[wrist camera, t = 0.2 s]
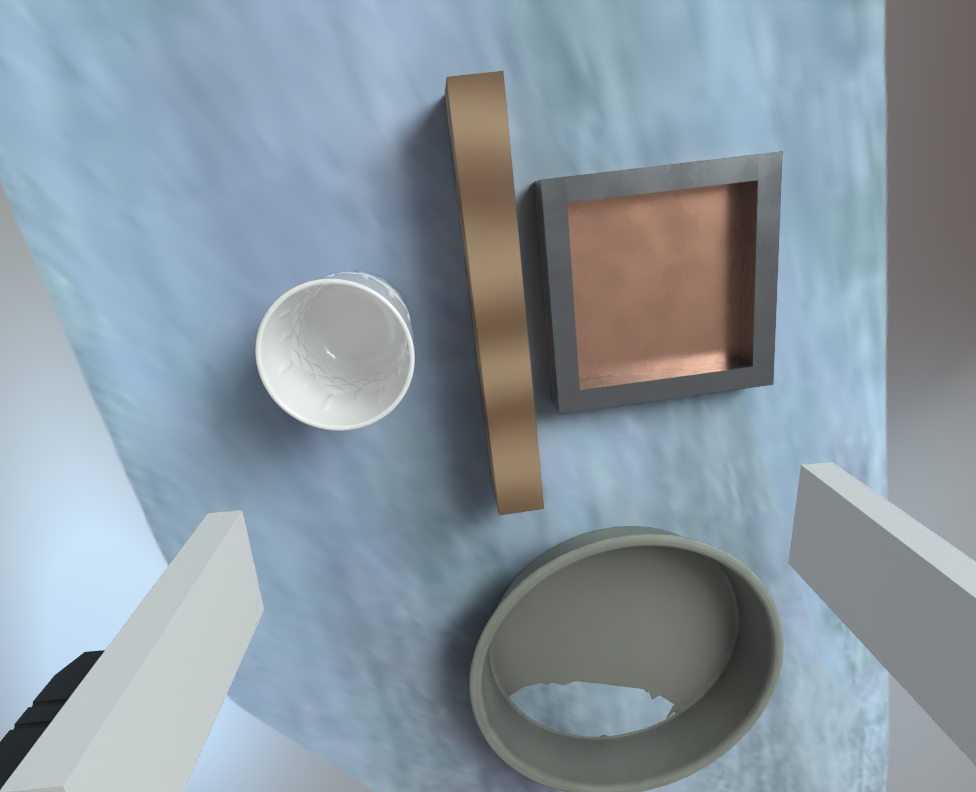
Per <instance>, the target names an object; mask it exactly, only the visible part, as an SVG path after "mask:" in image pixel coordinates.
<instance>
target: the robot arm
mask: <svg viewBox="0 0 976 792" xmlns="http://www.w3.org/2000/svg"><path fill="white" fill-rule="evenodd" d="M788 563H789V564H790V566H791V567H792V568H793V569H794V570H795V571H796V572H797V573H798V574H799V575H800V576H801V577H802V579H803V580H804V581H805V582H806V583H807V584H808V585H809V586H810V587H811V588H812V589H813V590H814V592H815V593H816V594H817V595H818V596H819V597H820V598H821V599H822V600H823V601H824V602H825V603H826V604H827V606H828V607H829V608H830V609H831V610H832V611H833V612H834V613H835V614H836V615H837V616H838V617H839V619H840V620H841V621H842V622H843V623H844V624H845V625H846V626H847V627H848V628H849V629H850V630H851V632H852V633H853V634H854V635H855V636H856V637H857V638H858V639H859V640H860V641H861V642H862V643H863V644H864V646H865V647H866V648H867V649H868V650H869V651H870V652H871V653H872V654H873V655H874V656H875V657H876V659H877V660H878V661H879V662H880V663H881V664H882V665H883V666H884V667H885V668H886V669H887V670H888V672H889V673H890V674H891V675H892V676H893V677H894V678H895V679H896V680H897V681H898V682H899V683H900V685H901V686H902V687H903V688H904V689H905V690H906V691H907V692H908V693H909V694H910V695H911V696H912V697H913V698H914V700H915V701H916V702H917V703H918V704H919V705H920V706H921V707H922V708H923V709H924V710H925V712H927V714H928V715H929V716H930V717H931V718H932V719H933V720H934V721H935V722H936V723H937V724H938V726H939V727H940V728H941V729H942V730H943V731H944V732H945V733H946V734H947V735H948V736H949V737H950V739H952V741H953V742H954V743H955V744H956V745H957V746H958V747H959V748H960V749H961V750H962V752H964V754H965V755H966V756H967V757H968V758H969V759H970V760H971V761H972V762H973V763H974V765H975V766H976V562H975V561H974V560H972V559H971V558H969V557H968V556H966V555H965V554H963V553H962V552H961V551H959V550H958V549H956V548H955V547H954V546H952V545H951V544H949V543H948V542H946V541H945V540H943V539H942V538H940V537H939V536H938V535H936V534H935V533H933V532H932V531H931V530H929V529H928V528H926V527H925V526H923V525H922V524H920V523H919V522H917V521H916V520H915V519H913V518H912V517H910V516H909V515H908V514H906V513H905V512H903V511H902V510H900V509H899V508H897V507H896V506H894V505H893V504H891V503H890V502H889V501H887V500H886V499H885V498H883V497H882V496H880V495H879V494H877V493H876V492H874V491H873V490H872V489H870V488H869V487H867V486H866V485H864V484H863V483H862V482H860V481H859V480H857V479H856V478H854V477H853V476H851V475H850V474H849V473H847V472H846V471H844V470H843V469H841V468H840V467H838V466H837V465H836V464H834V463H833V462H830V463H818V464H805V465H801V470H800V478H799V486H798V493H797V501H796V509H795V516H794V524H793V532H792V539H791V547H790V555H789V562H788ZM263 611H264V607H263V603H262V598H261V594H260V589H259V584H258V580H257V575H256V571H255V566H254V562H253V557H252V552H251V548H250V543H249V539H248V534H247V530H246V525H245V520H244V516H243V511H242V510H240V511H227V512H215V513H208V514H207V515H206V517H205V518H204V519H203V521H202V522H201V523H200V525H199V526H198V527H197V529H196V530H195V531H194V533H193V534H192V535H191V537H190V538H189V539H188V541H187V542H186V543H185V545H184V546H183V547H182V549H181V550H180V551H179V553H178V554H177V555H176V557H175V558H174V559H173V561H172V562H171V563H170V565H169V566H168V567H167V569H166V570H165V571H164V573H163V574H162V575H161V577H160V578H159V579H158V581H157V582H156V583H155V585H154V586H153V587H152V589H151V590H150V591H149V593H148V594H147V595H146V597H145V598H144V599H143V601H142V602H141V603H140V605H139V606H138V607H137V609H136V610H135V611H134V613H133V614H132V615H131V617H130V618H129V619H128V621H127V622H126V623H125V625H124V626H123V627H122V629H121V630H120V631H119V633H118V634H117V635H116V637H115V638H114V639H113V641H112V642H111V643H110V645H109V646H108V647H107V648H106V650H103V651H91V652H84V653H83V654H82V655H80V656H79V657H78V658H77V659H75V660H74V661H73V662H71V663H70V664H69V665H67V666H66V667H65V668H64V669H62V670H61V671H60V672H58V673H57V674H56V675H55V676H54V677H53V678H52V679H51V681H50V682H49V683H48V684H47V685H46V686H45V688H44V689H43V690H42V692H41V693H40V694H39V695H38V696H37V697H36V699H35V700H34V701H33V706H32V707H28V708H27V710H26V711H25V712H24V713H23V715H22V716H21V717H20V718H19V719H18V721H17V722H16V723H15V728H14V729H13V730H10V731H9V732H8V733H7V734H6V735H5V737H4V738H3V739H2V740H1V742H0V792H184V790H185V788H186V785H187V783H188V781H189V778H190V776H191V774H192V772H193V770H194V767H195V765H196V762H197V760H198V758H199V756H200V754H201V751H202V749H203V747H204V744H205V742H206V740H207V738H208V736H209V733H210V731H211V729H212V726H213V724H214V722H215V720H216V717H217V715H218V713H219V711H220V708H221V706H222V704H223V701H224V699H225V697H226V695H227V693H228V690H229V688H230V686H231V683H232V681H233V679H234V677H235V674H236V672H237V670H238V668H239V665H240V663H241V661H242V659H243V656H244V654H245V652H246V650H247V647H248V645H249V643H250V640H251V638H252V636H253V634H254V631H255V629H256V627H257V625H258V622H259V620H260V618H261V616H262V613H263Z"/></svg>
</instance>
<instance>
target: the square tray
mask: <svg viewBox="0 0 976 792" xmlns="http://www.w3.org/2000/svg"><path fill="white" fill-rule="evenodd" d="M782 152H783V151H782ZM782 152H773V153H765V154H756V155H748V156H739V157H731V158H722V159H714V160H705V161H696V162H688V163H679V164H671V165H662V166H654V167H645V168H637V169H628V170H620V171H611V172H602V173H594V174H585V175H577V176H568V177H560V178H551V179H543V180H538V181H534V184H535V196H536V208H537V220H538V232H539V244H540V256H541V268H542V280H543V293H544V305H545V317H546V329H547V341H548V353H549V365H550V377H551V389H552V401H553V404H554V406H555V408H556V409H557V411H558V412H559V414H564V413H571V412H578V411H585V410H593V409H600V408H607V407H614V406H622V405H629V404H636V403H643V402H651V401H658V400H665V399H672V398H680V397H687V396H694V395H701V394H709V393H716V392H723V391H730V390H738V389H745V388H752V387H759V386H767V385H773V378H774V353H775V328H776V303H777V278H778V253H779V228H780V203H781V178H782Z"/></svg>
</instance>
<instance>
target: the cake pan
mask: <svg viewBox="0 0 976 792" xmlns="http://www.w3.org/2000/svg"><path fill="white" fill-rule="evenodd" d="M782 659H783V632H782V626H781V621H780V617H779V614H778V611H777V608H776V605H775V603H774V601H773V599H772V597H771V596H770V594H769V592H768V590H767V589H766V588H765V586H764V585H763V583H762V582H761V581H760V580H759V579H758V577H757V576H756V575H755V574H754V573H753V572H752V571H751V570H750V569H748V568H747V567H746V566H745V565H744V564H743V563H741V562H740V561H739V560H737V559H736V558H734V557H733V556H730V555H729V554H728V553H726V552H724V551H722V550H720V549H718V548H716V547H713V546H711V545H709V544H706V543H703V542H700V541H697V540H693V539H689V538H685V537H682V536H680V535H677V534H674V533H671V532H668V531H664V530H660V529H656V528H650V527H639V526H623V527H612V528H605V529H600V530H596V531H592V532H588V533H584V534H581V535H579V536H576V537H574V538H571V539H569V540H566V541H564V542H562V543H560V544H558V545H556V546H554V547H553V548H551V549H549V550H548V551H546V552H545V553H543V554H542V555H540V556H539V557H538V558H536V559H535V560H534V561H533V562H531V563H530V564H529V565H528V566H527V567H526V568H525V569H524V570H523V571H522V572H521V573H520V574H519V575H518V576H517V577H516V578H515V580H514V581H513V582H512V583H511V584H510V586H509V587H508V589H507V590H506V592H505V593H504V595H503V597H502V598H501V600H500V602H499V604H498V606H497V608H496V610H495V612H494V613H493V615H492V616H491V618H490V619H489V621H488V623H487V624H486V626H485V628H484V630H483V632H482V634H481V636H480V639H479V641H478V644H477V646H476V649H475V652H474V656H473V660H472V664H471V670H470V677H469V678H470V682H469V688H470V699H471V706H472V710H473V714H474V717H475V719H476V722H477V724H478V727H479V729H480V731H481V732H482V734H483V736H484V738H485V739H486V741H487V742H488V744H489V745H490V747H491V748H492V749H493V750H494V752H495V753H496V754H497V755H498V756H499V757H500V758H501V759H502V760H503V761H504V762H506V763H507V764H508V765H509V766H510V767H512V768H513V769H514V770H516V771H517V772H519V773H520V774H522V775H524V776H526V777H527V778H529V779H531V780H533V781H535V782H538V783H540V784H542V785H545V786H548V787H551V788H554V789H557V790H561V791H565V792H642V791H647V790H651V789H654V788H658V787H661V786H665V785H668V784H670V783H673V782H676V781H678V780H681V779H683V778H686V777H688V776H690V775H692V774H693V773H695V772H697V771H699V770H701V769H703V768H704V767H706V766H708V765H709V764H711V763H712V762H714V761H715V760H717V759H718V758H720V757H721V756H722V755H723V754H725V753H726V752H727V751H729V750H730V749H731V748H732V747H733V746H734V745H735V744H736V743H738V742H739V741H740V740H741V739H742V738H743V737H744V735H745V734H746V733H747V732H748V731H749V730H750V729H751V728H752V727H753V725H754V724H755V723H756V722H757V720H758V719H759V717H760V716H761V714H762V713H763V711H764V709H765V708H766V706H767V704H768V702H769V701H770V699H771V697H772V694H773V692H774V689H775V687H776V685H777V681H778V678H779V675H780V671H781V666H782ZM574 681H580V682H591V683H600V684H608V685H616V686H624V687H632V688H640V689H644V690H645V691H646V692H649V693H650V696H651V698H652V699H654V698H655V697H657V696H659V695H661V696H662V697H664V698H665V699H667V700H669V701H670V702H672V703H673V704H674V706H673V707H672V709H671V711H670V712H669V714H668V716H667V718H668V717H669V716H670V715H671V714H672V713H673V712H675V714H674V715H672V716H671V717H669V718H668V719H666V720H664V721H662V722H660V723H657V724H655V725H653V726H651V727H648V728H645V729H642V730H638V731H634V732H630V733H626V734H621V735H615V736H606V735H602V736H600V737H584V736H576V735H571V734H566V733H562V732H558V731H555V730H553V729H550V728H548V727H545V726H543V725H541V724H539V723H537V722H535V721H533V720H532V719H530V718H529V717H527V716H526V715H525V714H524V713H522V712H521V711H520V710H519V709H518V708H517V707H516V706H515V705H514V704H513V703H512V701H511V700H510V699H509V697H508V696H510V695H511V694H513V693H514V692H516V691H517V690H519V689H520V688H522V687H523V686H528V685H533V684H538V683H543V684H546V685H548V684H550V683H553V682H554V683H557V684H561V685H565V684H568V683H571V682H574Z"/></svg>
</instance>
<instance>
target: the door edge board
mask: <svg viewBox="0 0 976 792" xmlns="http://www.w3.org/2000/svg"><path fill="white" fill-rule="evenodd" d="M445 101H446V109H447V118H448V126H449V134H450V142H451V150H452V159H453V167H454V175H455V183H456V191H457V199H458V208H459V216H460V224H461V232H462V240H463V249H464V257H465V265H466V273H467V281H468V290H469V298H470V306H471V314H472V322H473V330H474V339H475V347H476V355H477V363H478V371H479V380H480V388H481V396H482V404H483V412H484V421H485V429H486V437H487V445H488V453H489V461H490V470H491V478H492V484H493V489H494V493H495V498H496V502H497V507H498V512H499V515H504V514H511V513H518V512H525V511H532V510H539V509H544V502H543V492H542V481H541V470H540V460H539V449H538V438H537V427H536V417H535V406H534V395H533V384H532V374H531V363H530V352H529V342H528V331H527V320H526V309H525V299H524V288H523V277H522V266H521V256H520V245H519V234H518V223H517V213H516V202H515V191H514V181H513V170H512V159H511V148H510V138H509V127H508V116H507V105H506V95H505V84H504V73H503V71H498V72H489V73H480V74H470V75H461V76H452V77H447V78H446V87H445Z"/></svg>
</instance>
